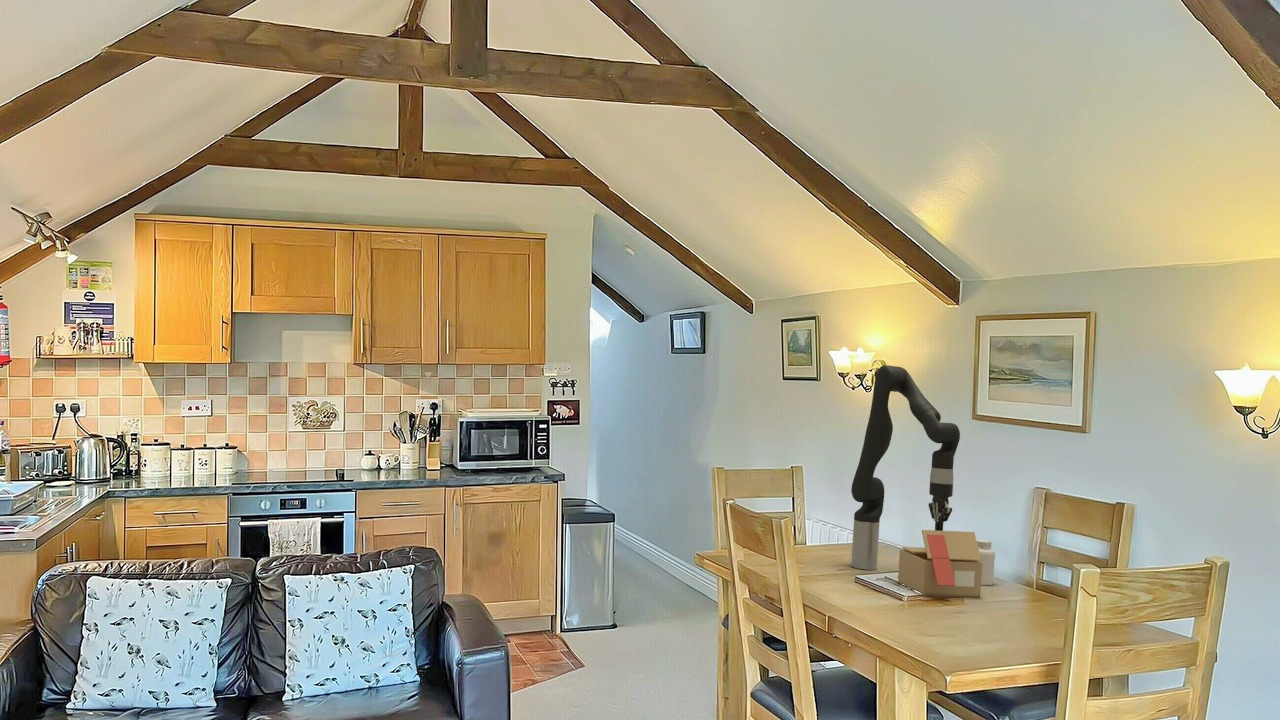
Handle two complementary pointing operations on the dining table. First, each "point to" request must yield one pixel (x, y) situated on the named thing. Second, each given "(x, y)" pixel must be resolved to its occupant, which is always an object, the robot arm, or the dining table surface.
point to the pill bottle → (986, 561)
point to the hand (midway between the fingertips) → (938, 533)
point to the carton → (922, 578)
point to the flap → (949, 551)
